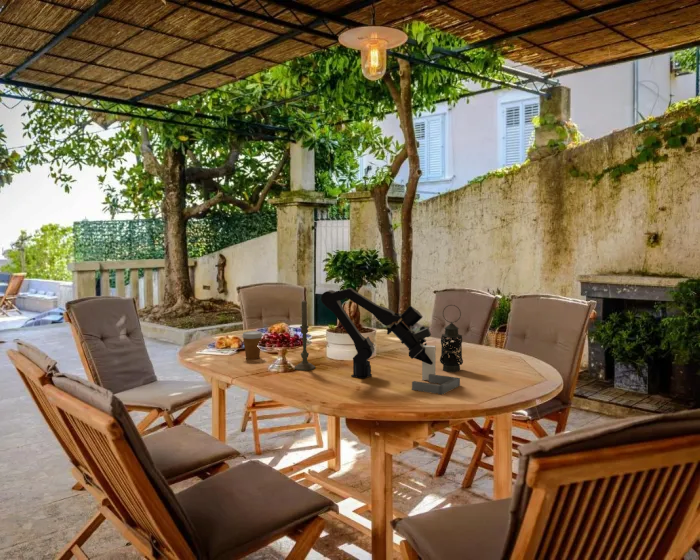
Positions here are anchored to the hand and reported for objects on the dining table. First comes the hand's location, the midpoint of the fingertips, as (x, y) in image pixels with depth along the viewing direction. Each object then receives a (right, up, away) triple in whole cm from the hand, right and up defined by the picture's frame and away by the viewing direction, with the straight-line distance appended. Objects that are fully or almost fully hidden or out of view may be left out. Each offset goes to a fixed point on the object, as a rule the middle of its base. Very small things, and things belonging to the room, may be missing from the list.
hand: (432, 362), depth 238 cm
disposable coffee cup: (-79, -4, +45) cm, 91 cm away
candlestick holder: (-53, -6, +22) cm, 57 cm away
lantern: (+10, -6, +16) cm, 20 cm away
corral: (-1, -8, -13) cm, 15 cm away
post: (-1, -7, +1) cm, 7 cm away
